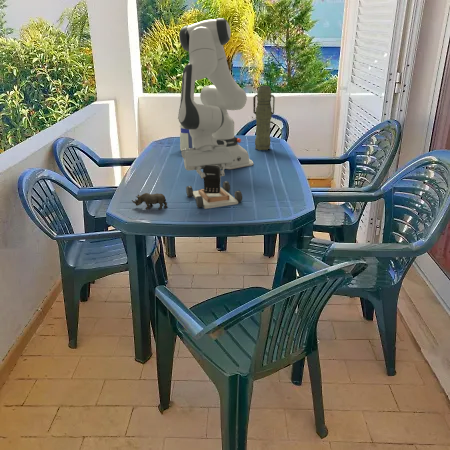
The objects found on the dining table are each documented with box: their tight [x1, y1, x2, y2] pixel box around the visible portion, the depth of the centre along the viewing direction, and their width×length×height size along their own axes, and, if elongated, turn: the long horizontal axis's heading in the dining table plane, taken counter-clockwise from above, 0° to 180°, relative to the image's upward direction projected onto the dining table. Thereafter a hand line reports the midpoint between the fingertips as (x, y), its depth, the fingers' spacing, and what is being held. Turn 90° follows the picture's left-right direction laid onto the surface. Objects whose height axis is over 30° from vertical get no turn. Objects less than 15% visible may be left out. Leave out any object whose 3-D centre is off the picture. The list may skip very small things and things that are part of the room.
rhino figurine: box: [131, 192, 168, 210], centre depth 170 cm, size 4×14×6 cm, turn 85°
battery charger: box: [202, 165, 222, 194], centre depth 176 cm, size 7×4×11 cm, turn 81°
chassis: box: [185, 180, 243, 210], centre depth 179 cm, size 18×18×4 cm
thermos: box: [252, 85, 276, 151], centre depth 248 cm, size 9×12×35 cm
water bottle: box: [179, 124, 194, 152], centre depth 250 cm, size 8×8×25 cm
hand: (213, 176), depth 175 cm, fingers closed on battery charger, 7 cm apart
